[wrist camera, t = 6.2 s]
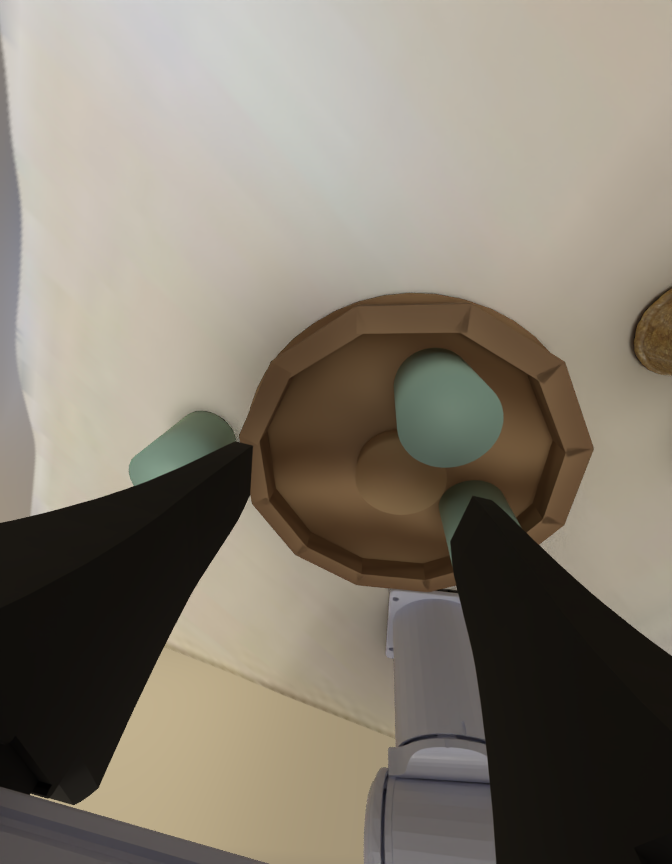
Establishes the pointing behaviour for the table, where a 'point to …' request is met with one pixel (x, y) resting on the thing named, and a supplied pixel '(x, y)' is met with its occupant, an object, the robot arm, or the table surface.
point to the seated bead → (458, 500)
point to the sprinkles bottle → (656, 336)
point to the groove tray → (380, 445)
